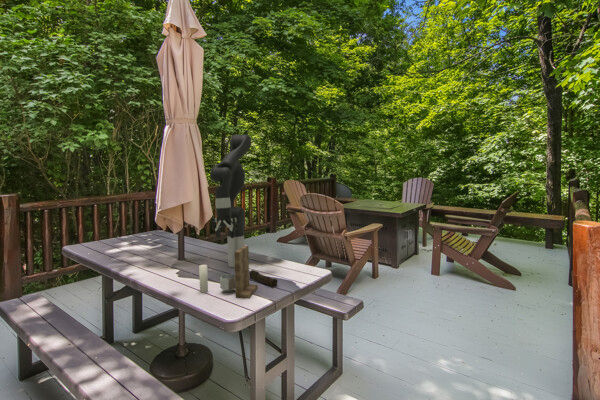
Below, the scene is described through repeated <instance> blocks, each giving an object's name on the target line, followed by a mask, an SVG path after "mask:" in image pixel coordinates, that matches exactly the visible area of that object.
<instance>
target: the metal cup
mask: <svg viewBox="0 0 600 400" xmlns="http://www.w3.org/2000/svg"><path fill="white" fill-rule="evenodd" d="M219 285H220V287H219V288H220V289H221V290H222V291H232V290H234V289H235V273H226V274H222V275H221V276H220V277H219Z"/></svg>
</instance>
